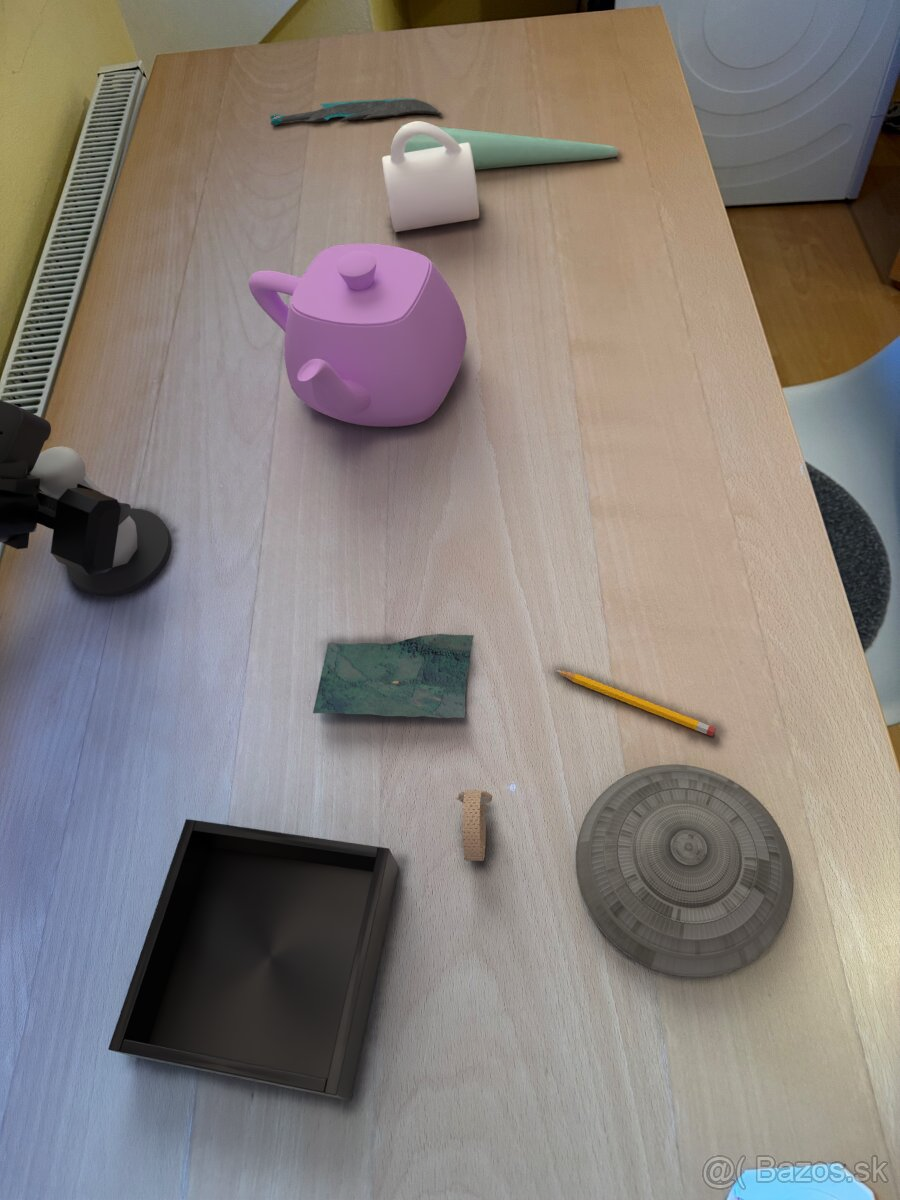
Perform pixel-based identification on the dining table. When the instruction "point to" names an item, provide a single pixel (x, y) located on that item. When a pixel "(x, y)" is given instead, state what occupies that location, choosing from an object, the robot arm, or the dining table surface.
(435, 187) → the mug
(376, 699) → the terrain model
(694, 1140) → the dining table surface
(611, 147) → the long green cone
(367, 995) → the tin
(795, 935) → the dining table surface
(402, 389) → the teapot
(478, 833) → the perforated watch strap
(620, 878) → the flying saucer
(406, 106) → the knife
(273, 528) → the dining table surface
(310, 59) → the dining table surface
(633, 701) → the pencil
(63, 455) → the salt shaker
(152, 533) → the disc
